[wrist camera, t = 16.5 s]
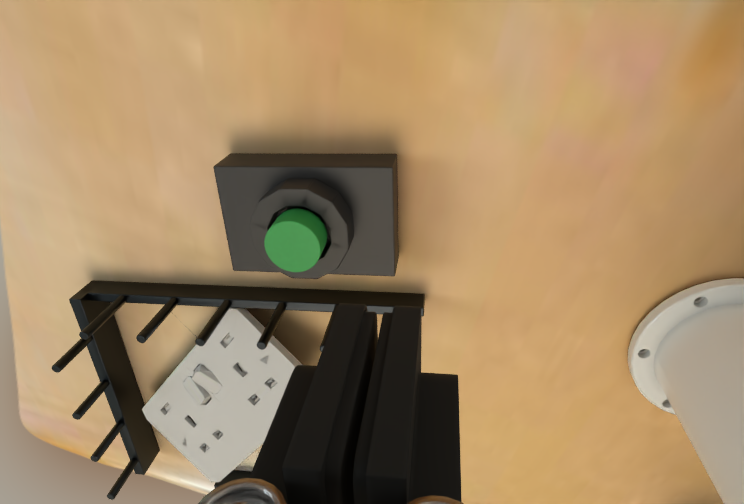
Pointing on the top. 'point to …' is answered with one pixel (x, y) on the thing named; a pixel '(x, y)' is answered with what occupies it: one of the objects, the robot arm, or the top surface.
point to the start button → (296, 240)
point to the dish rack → (117, 369)
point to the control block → (313, 208)
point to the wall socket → (223, 396)
